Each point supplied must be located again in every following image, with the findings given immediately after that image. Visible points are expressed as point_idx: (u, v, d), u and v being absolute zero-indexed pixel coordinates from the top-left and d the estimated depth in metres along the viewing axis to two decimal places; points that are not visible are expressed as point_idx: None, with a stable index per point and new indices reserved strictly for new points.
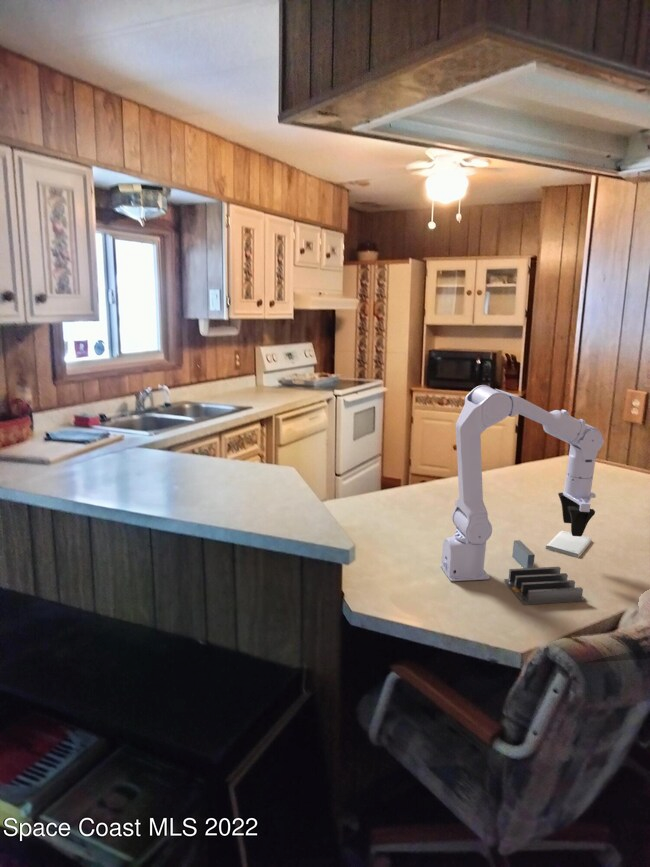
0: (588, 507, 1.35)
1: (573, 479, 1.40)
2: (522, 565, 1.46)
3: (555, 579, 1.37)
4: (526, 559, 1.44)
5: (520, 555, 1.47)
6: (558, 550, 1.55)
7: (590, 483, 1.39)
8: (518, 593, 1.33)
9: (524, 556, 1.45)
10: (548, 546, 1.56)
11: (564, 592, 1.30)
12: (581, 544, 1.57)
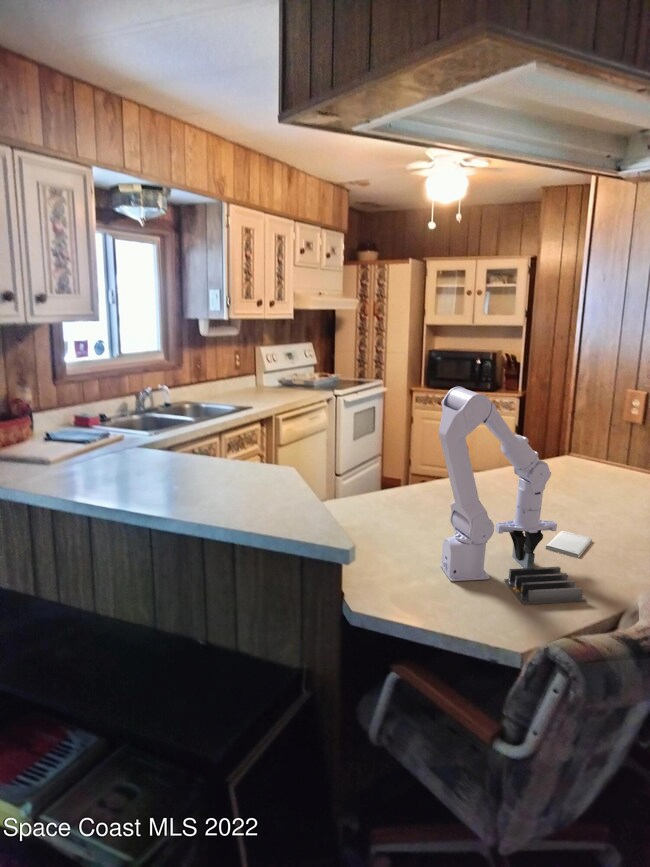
0: (498, 528, 1.44)
1: None
2: (522, 565, 1.46)
3: (555, 579, 1.37)
4: (527, 559, 1.44)
5: None
6: (558, 550, 1.55)
7: (523, 514, 1.43)
8: (518, 593, 1.33)
9: (525, 555, 1.45)
10: (548, 546, 1.56)
11: (564, 592, 1.30)
12: (581, 544, 1.57)
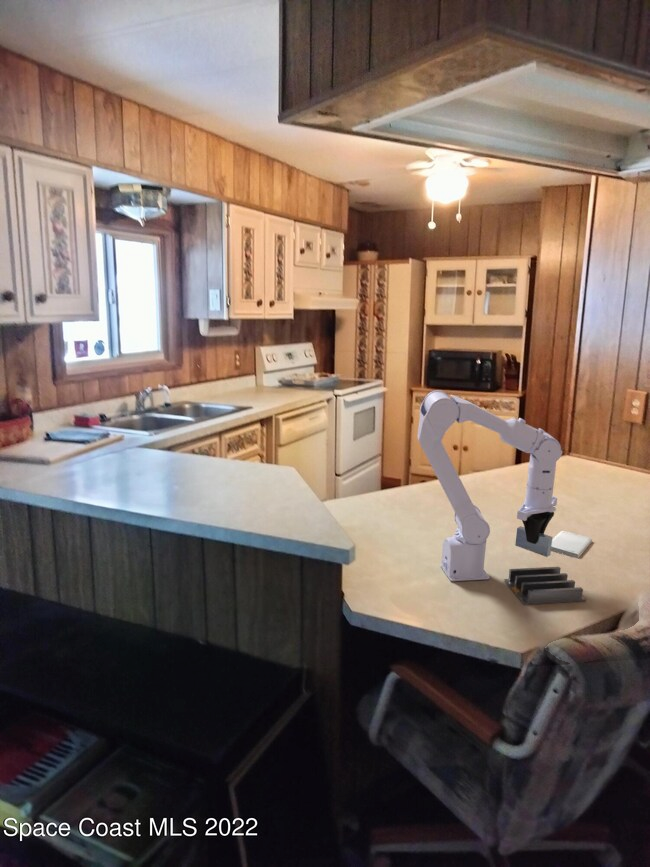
0: (523, 515, 1.34)
1: (527, 487, 1.38)
2: (537, 551, 1.40)
3: (555, 579, 1.37)
4: (546, 544, 1.38)
5: None
6: (558, 550, 1.55)
7: (543, 495, 1.35)
8: (518, 593, 1.33)
9: (542, 541, 1.39)
10: None
11: (564, 592, 1.30)
12: (581, 544, 1.57)
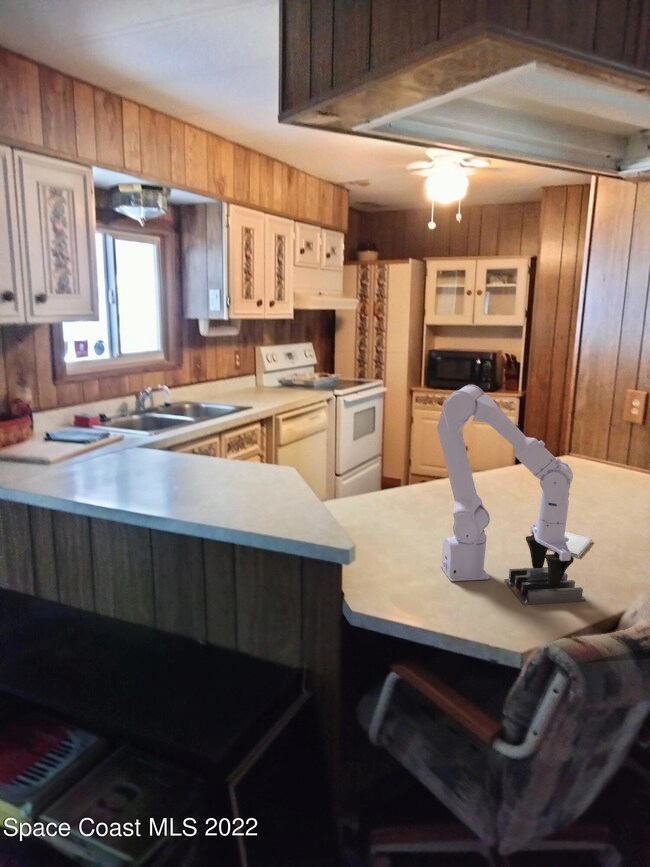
0: (569, 555, 1.26)
1: (548, 525, 1.29)
2: None
3: None
4: (562, 577, 1.34)
5: (547, 580, 1.34)
6: None
7: (564, 527, 1.30)
8: (518, 593, 1.33)
9: None
10: None
11: (564, 592, 1.30)
12: (581, 544, 1.57)
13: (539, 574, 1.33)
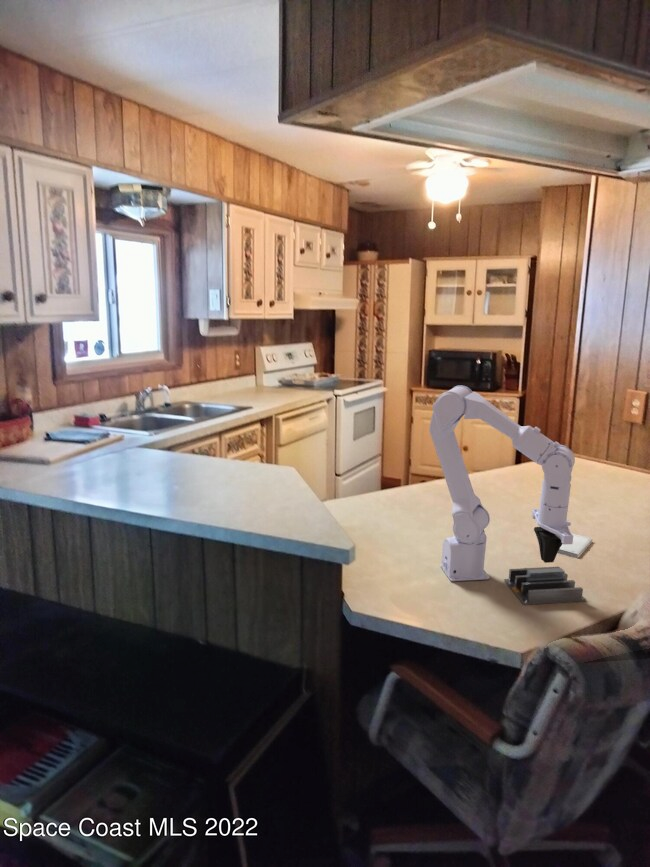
0: (571, 538, 1.25)
1: (550, 509, 1.28)
2: None
3: None
4: (562, 577, 1.34)
5: (547, 580, 1.34)
6: None
7: (566, 511, 1.29)
8: (518, 593, 1.33)
9: (557, 576, 1.34)
10: None
11: (564, 592, 1.30)
12: (581, 544, 1.57)
13: (539, 574, 1.33)
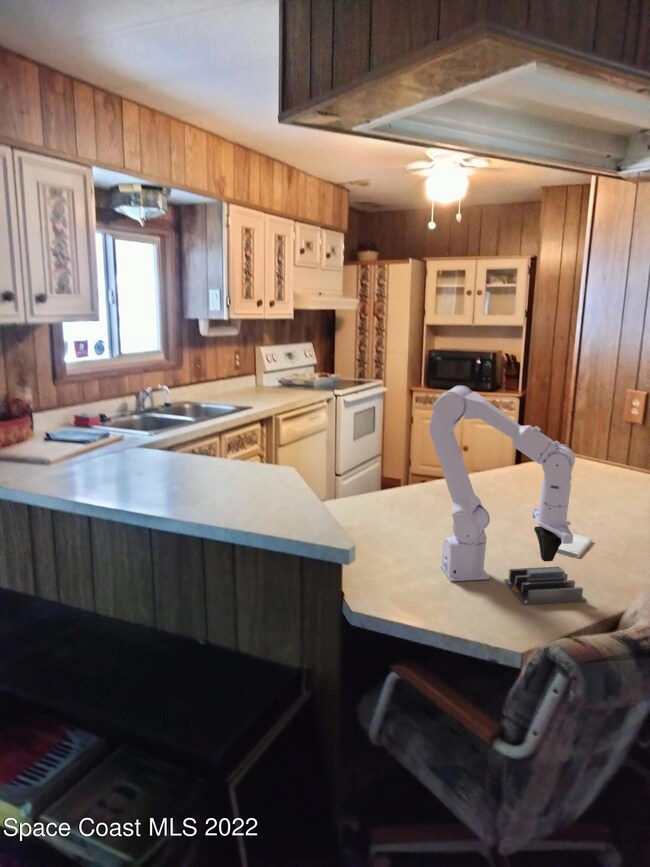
0: (571, 538, 1.25)
1: (550, 508, 1.28)
2: None
3: None
4: (562, 577, 1.34)
5: (547, 580, 1.34)
6: (557, 550, 1.54)
7: (567, 510, 1.29)
8: (518, 593, 1.33)
9: (557, 576, 1.34)
10: None
11: (564, 592, 1.30)
12: (581, 544, 1.57)
13: (539, 574, 1.33)
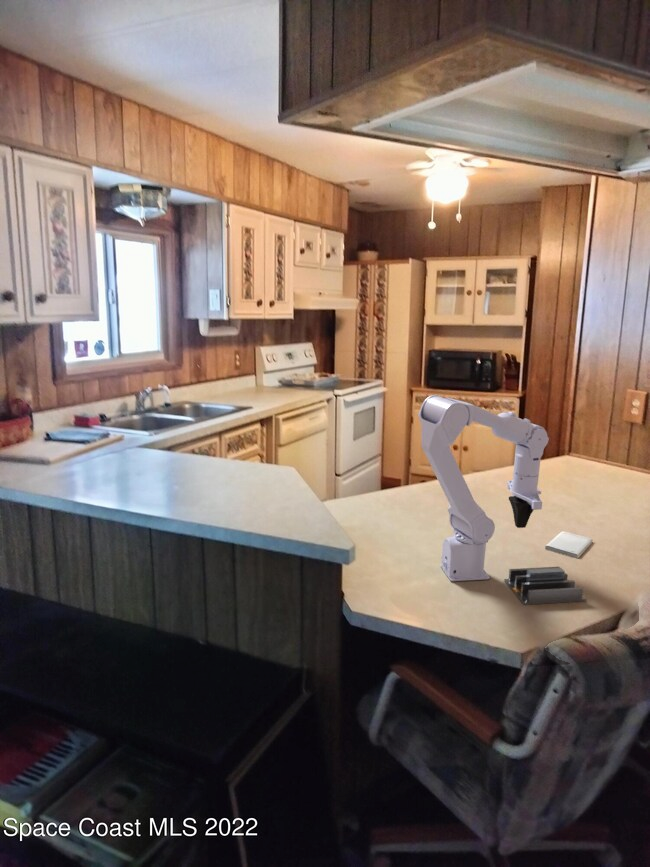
0: (540, 504, 1.38)
1: (522, 478, 1.41)
2: None
3: None
4: (562, 577, 1.34)
5: (547, 580, 1.34)
6: (557, 550, 1.54)
7: (537, 480, 1.42)
8: (518, 593, 1.33)
9: (557, 576, 1.34)
10: (547, 546, 1.56)
11: (564, 592, 1.30)
12: (581, 545, 1.57)
13: (539, 574, 1.33)
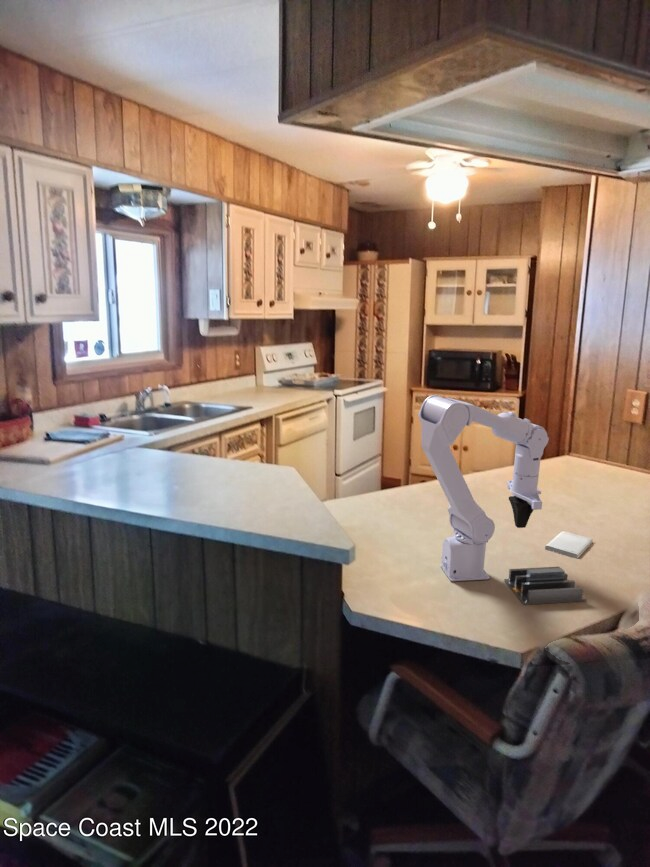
0: (540, 504, 1.38)
1: (522, 478, 1.41)
2: None
3: None
4: (562, 577, 1.34)
5: (547, 580, 1.34)
6: (557, 550, 1.54)
7: (537, 480, 1.42)
8: (518, 593, 1.33)
9: (557, 576, 1.34)
10: (547, 546, 1.56)
11: (564, 592, 1.30)
12: (581, 545, 1.57)
13: (539, 574, 1.33)
